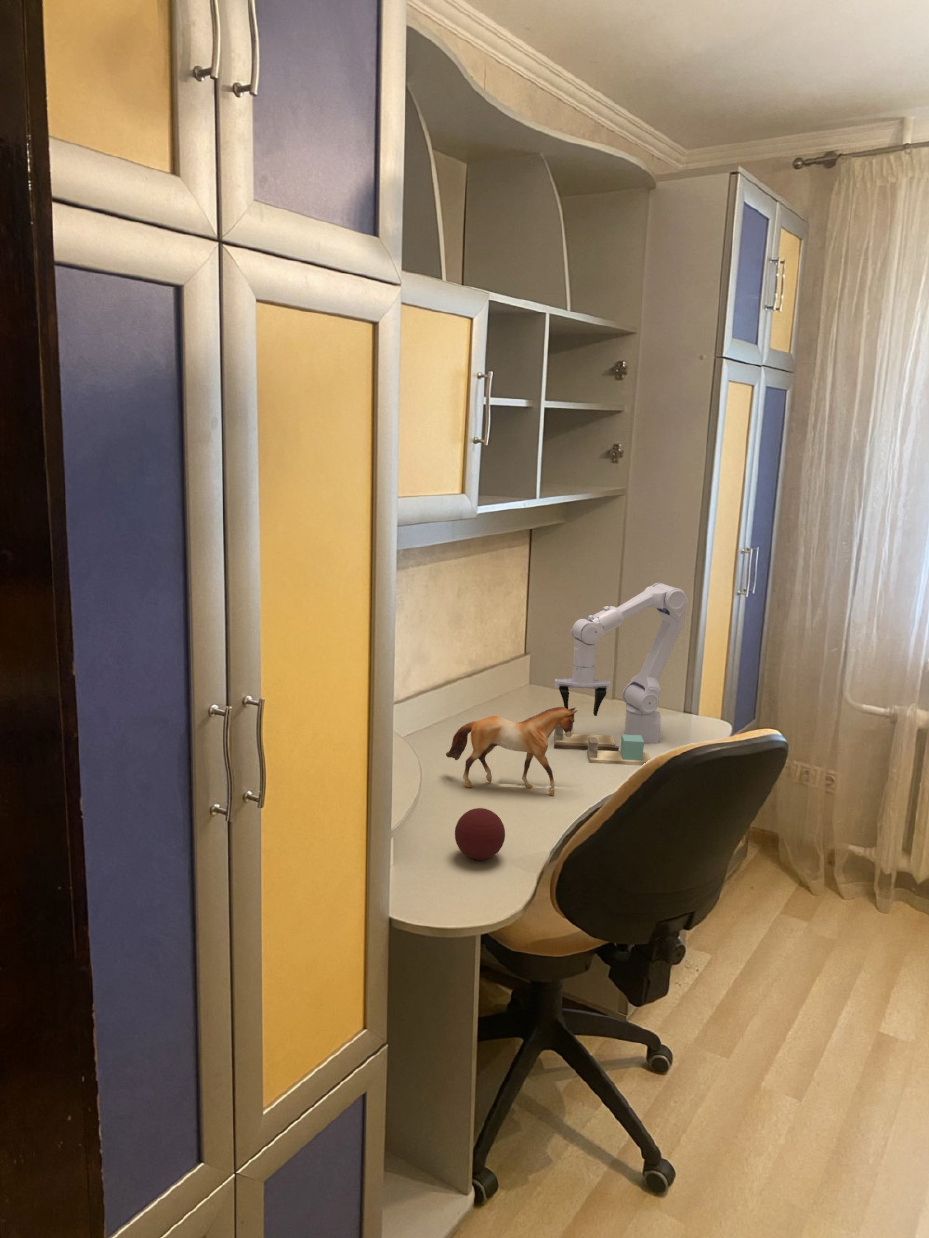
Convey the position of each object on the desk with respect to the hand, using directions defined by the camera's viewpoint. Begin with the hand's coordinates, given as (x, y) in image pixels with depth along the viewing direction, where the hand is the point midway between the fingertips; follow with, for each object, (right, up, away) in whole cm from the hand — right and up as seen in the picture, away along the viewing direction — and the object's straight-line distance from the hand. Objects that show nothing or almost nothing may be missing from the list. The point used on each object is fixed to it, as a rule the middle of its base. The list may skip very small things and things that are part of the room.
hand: (580, 714), depth 245 cm
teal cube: (+12, -10, -8) cm, 18 cm away
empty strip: (+1, -8, +4) cm, 9 cm away
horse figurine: (-21, -14, -24) cm, 35 cm away
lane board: (+1, -10, -2) cm, 10 cm away
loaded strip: (+9, -11, -8) cm, 16 cm away
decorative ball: (-28, -22, -62) cm, 71 cm away
